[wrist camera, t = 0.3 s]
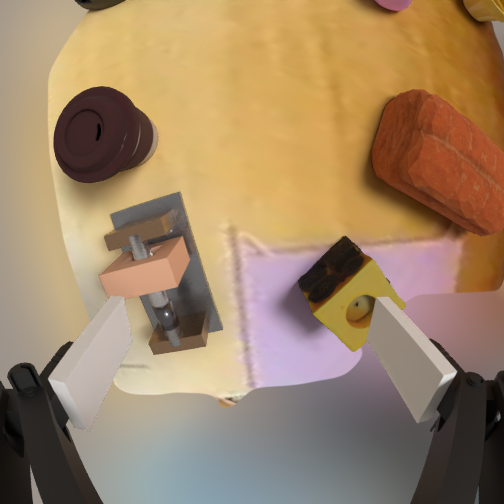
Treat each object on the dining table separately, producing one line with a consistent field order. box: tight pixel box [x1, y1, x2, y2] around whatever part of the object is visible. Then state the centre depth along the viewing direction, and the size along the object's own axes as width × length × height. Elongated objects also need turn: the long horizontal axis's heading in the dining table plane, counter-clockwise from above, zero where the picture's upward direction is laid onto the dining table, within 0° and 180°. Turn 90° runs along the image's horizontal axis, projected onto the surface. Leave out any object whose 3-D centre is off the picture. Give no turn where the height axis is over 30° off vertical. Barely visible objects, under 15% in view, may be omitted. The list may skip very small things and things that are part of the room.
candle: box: [298, 236, 405, 352], centre depth 39 cm, size 10×10×10 cm
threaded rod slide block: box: [104, 192, 223, 355], centre depth 38 cm, size 22×11×8 cm, turn 13°
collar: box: [99, 236, 190, 299], centre depth 34 cm, size 4×9×9 cm, turn 104°
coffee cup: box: [54, 86, 158, 183], centre depth 28 cm, size 10×10×15 cm
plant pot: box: [463, 0, 504, 22], centre depth 22 cm, size 10×10×10 cm
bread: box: [372, 89, 504, 236], centre depth 33 cm, size 16×27×11 cm, turn 71°
